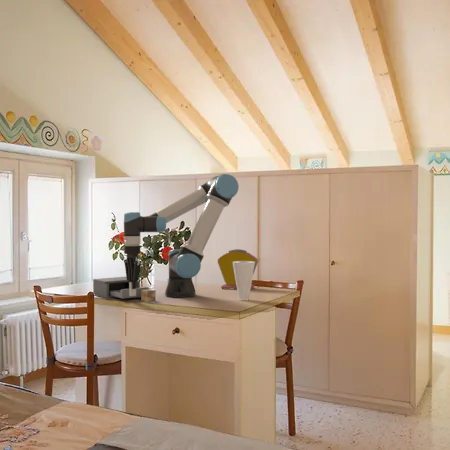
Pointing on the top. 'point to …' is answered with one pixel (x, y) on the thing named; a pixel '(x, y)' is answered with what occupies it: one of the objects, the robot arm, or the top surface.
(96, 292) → the housing
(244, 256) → the yellow arched part
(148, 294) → the pedestal
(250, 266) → the cup
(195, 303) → the top surface
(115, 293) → the tray
